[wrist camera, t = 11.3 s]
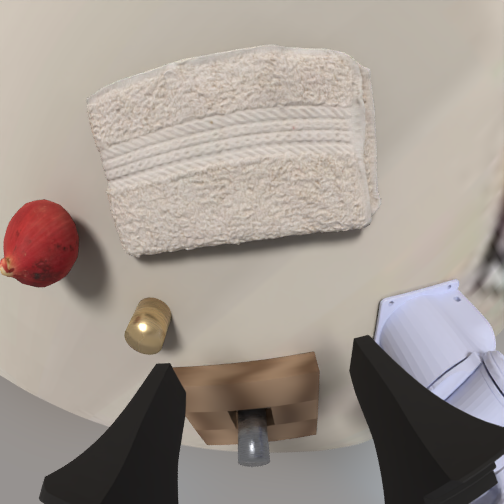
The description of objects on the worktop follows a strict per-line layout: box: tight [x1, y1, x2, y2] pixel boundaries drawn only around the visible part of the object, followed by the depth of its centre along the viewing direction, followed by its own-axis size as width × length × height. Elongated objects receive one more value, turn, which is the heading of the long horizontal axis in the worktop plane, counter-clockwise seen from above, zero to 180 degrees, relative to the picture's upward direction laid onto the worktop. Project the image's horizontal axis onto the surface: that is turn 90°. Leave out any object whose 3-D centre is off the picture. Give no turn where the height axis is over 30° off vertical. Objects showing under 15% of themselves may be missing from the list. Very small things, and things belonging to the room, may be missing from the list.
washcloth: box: [86, 45, 381, 257], centre depth 15 cm, size 12×18×3 cm, turn 99°
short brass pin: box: [125, 298, 171, 355], centre depth 20 cm, size 3×3×4 cm
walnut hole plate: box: [173, 352, 320, 445], centre depth 26 cm, size 14×14×2 cm
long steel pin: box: [238, 408, 270, 467], centre depth 23 cm, size 3×3×8 cm
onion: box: [0, 199, 79, 287], centre depth 14 cm, size 6×6×8 cm
